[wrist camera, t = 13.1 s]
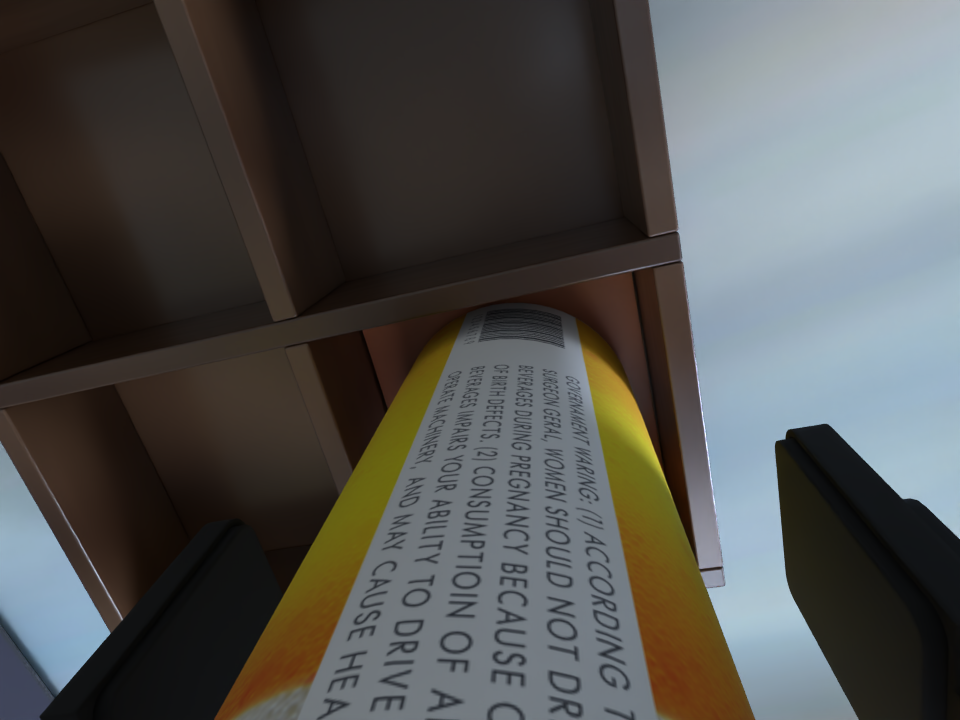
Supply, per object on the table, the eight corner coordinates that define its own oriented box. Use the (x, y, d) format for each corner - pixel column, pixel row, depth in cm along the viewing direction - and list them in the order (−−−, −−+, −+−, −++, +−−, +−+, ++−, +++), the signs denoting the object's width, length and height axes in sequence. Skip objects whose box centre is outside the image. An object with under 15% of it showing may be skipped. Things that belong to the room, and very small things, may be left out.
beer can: (426, 495, 18) (25, 1761, 4) (396, 303, 16) (-677, 1529, 2) (628, 488, 17) (1027, 2023, 3) (626, 285, 15) (1734, 2129, 1)
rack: (-42, 53, 16) (-242, 23, 12) (586, -164, 13) (609, -303, 9) (204, 561, 21) (125, 661, 17) (684, 488, 18) (726, 587, 14)
